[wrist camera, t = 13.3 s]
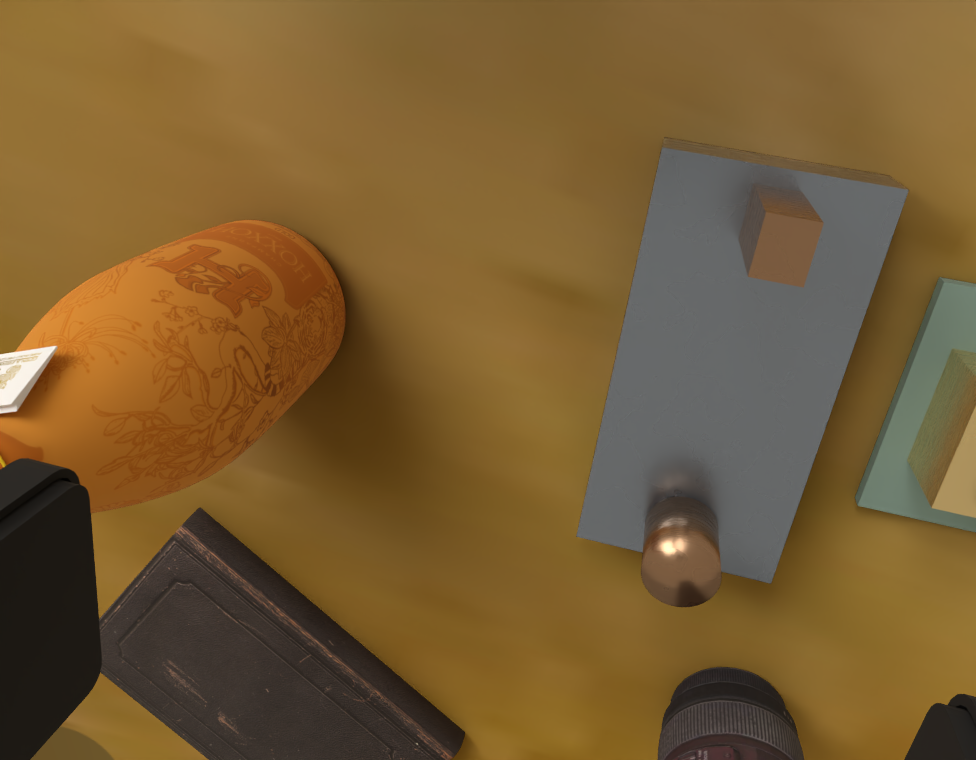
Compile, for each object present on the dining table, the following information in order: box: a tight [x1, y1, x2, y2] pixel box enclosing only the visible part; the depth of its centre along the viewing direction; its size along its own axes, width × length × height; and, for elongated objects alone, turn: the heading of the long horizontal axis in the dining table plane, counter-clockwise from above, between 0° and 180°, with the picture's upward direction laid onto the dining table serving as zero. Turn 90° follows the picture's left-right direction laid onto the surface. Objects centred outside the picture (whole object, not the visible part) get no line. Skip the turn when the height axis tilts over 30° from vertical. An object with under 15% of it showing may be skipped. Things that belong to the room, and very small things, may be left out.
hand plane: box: [576, 137, 909, 607], centre depth 37 cm, size 20×10×10 cm, turn 172°
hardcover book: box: [99, 508, 465, 760], centre depth 57 cm, size 16×23×2 cm
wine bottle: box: [0, 220, 346, 513], centre depth 32 cm, size 10×10×30 cm
